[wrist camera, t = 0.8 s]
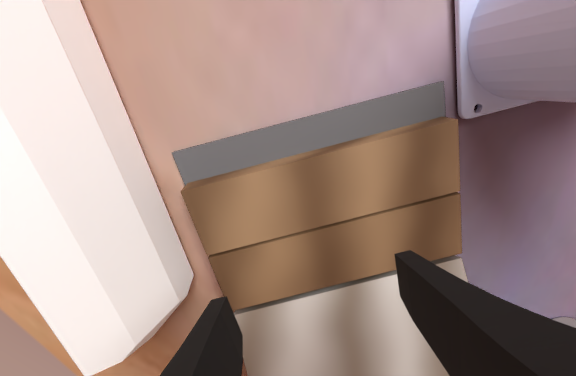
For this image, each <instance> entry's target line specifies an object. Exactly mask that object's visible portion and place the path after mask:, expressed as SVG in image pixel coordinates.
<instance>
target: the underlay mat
mask: <svg viewBox="0 0 576 376" xmlns="http://www.w3.org/2000/svg"><path fill="white" fill-rule="evenodd" d="M439 117H446V116H445V93H444V81H440V82H437V83H433V84H429V85H425V86H421V87H418V88H414V89H410V90H406V91H402V92H399V93H395V94H391V95H387V96H383V97H380V98H376V99H372V100H368V101H364V102H361V103H357V104H353V105H349V106H346V107H342V108H338V109H334V110H330V111H327V112H323V113H319V114H315V115H311V116H308V117H304V118H300V119H296V120H292V121H289V122H285V123H281V124H277V125H273V126H270V127H266V128H262V129H258V130H254V131H251V132H247V133H243V134H239V135H235V136H232V137H228V138H224V139H220V140H216V141H213V142H209V143H205V144H201V145H197V146H194V147H190V148H186V149H182V150H178V151H175V152H172V154H173V157H174V159H175V162H176V164H177V167H178V169H179V172H180V174H181V177H182V179H183V181H184V184H185V186H186V184H187V183H190V182H193V181H197V180H201V179H205V178H209V177H213V176H216V175H220V174H224V173H228V172H232V171H236V170H239V169H243V168H247V167H251V166H255V165H258V164H262V163H266V162H270V161H274V160H278V159H281V158H285V157H289V156H293V155H297V154H301V153H304V152H308V151H312V150H316V149H320V148H324V147H327V146H331V145H335V144H339V143H343V142H347V141H350V140H354V139H358V138H362V137H366V136H370V135H373V134H377V133H381V132H385V131H389V130H393V129H396V128H400V127H404V126H408V125H412V124H416V123H419V122H423V121H427V120H431V119H435V118H439Z"/></svg>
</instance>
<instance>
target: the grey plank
mask: <svg viewBox="0 0 576 376" xmlns="http://www.w3.org/2000/svg"><path fill="white" fill-rule="evenodd" d="M430 262H432V263H434V264H435V265H437V266H439V267H440V268H442V269H444V270H446V271H448V272H449V273H451V274H453V275H455V276H457V277H458V278H460V279H462V280H464V281H466V282H468V280H467V276H466V273H465V269H464V265H463V262H462V258H460V257H458V256H455V255H453V256H449V257H445V258H441V259H437V260H433V261H430ZM234 315H235V318H236V320H237V323H238V325H239V327H240V330H241V332H242V335H243V359H244V363H245V367H246V371H247V375H248V376H449V374H448V373H447V371H446V370H445V368H444V367H443V365H442V364H441V362H440V361H439V359H438V358H437V356H436V355H435V353H434V352H433V350H432V349H431V347H430V346H429V344H428V343H427V341H426V340H425V338H424V337H423V335H422V334H421V332H420V331H419V329H418V328H417V326H416V325H415V323H414V322H413V320H412V318H411V316H410V315H409V313H408V311H407V309H406V307H405V305H404V303H403V301H402V299H401V297H400V293H399V285H398V278H397V270H393V271H389V272H385V273H381V274H377V275H373V276H369V277H365V278H361V279H357V280H353V281H349V282H345V283H342V284H338V285H334V286H330V287H326V288H322V289H318V290H314V291H310V292H306V293H302V294H298V295H294V296H290V297H286V298H282V299H278V300H274V301H270V302H266V303H262V304H258V305H254V306H250V307H246V308H242V309H238V310H235V312H234Z"/></svg>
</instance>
